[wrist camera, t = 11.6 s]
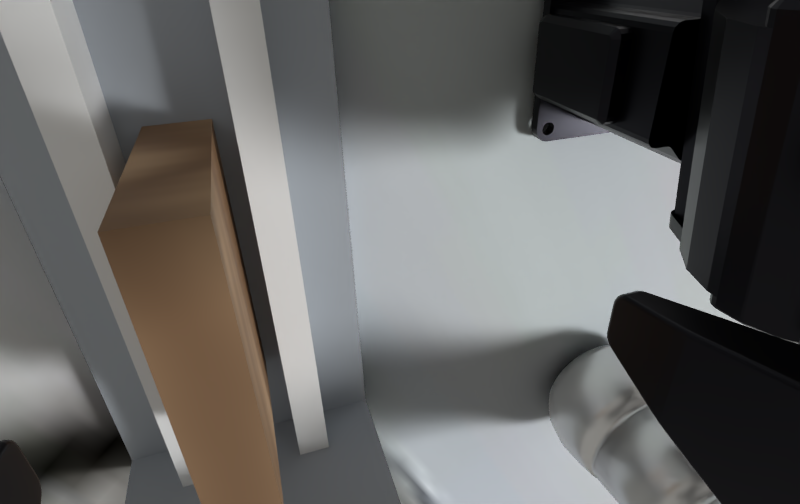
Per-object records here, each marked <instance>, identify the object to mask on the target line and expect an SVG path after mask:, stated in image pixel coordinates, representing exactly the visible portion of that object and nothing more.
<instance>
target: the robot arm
mask: <svg viewBox="0 0 800 504" xmlns="http://www.w3.org/2000/svg"><path fill="white" fill-rule="evenodd" d="M533 92H534V93H535V99H534V109H533V119H532V133H533V135H534V136H535V137H537V138H538V139H540V140H542V141H552V140H559V139H566V138H573V137H580V136H587V135H594V134H601V133H608V132H612V133H614V134H616V135H618V136H621V137H623V138H625V139H627V140H629V141H632V142H634V143H636V144H638V145H641V146H643V147H645V148H647V149H649V150H652V151H654V152H656V153H658V154H661V155H663V156H665V157H667V158H670V159H672V160H674V161H676V162H678V163H681V168H680V175H679V183H678V190H677V198H676V205H675V210H673V211H672V212H671V216H670V224H669V227H670V229H671V230H672V232H673V233H674V234H675V236H676V237H677V238H678V240H679V241H680V252H681V255H682V258H683V260H684V263H685V266H686V269H687V270H688V271H689V272H690V273H691V274H692V275H693V276H694V278H695V279H696V280H697V281H698V282H699V283H700V284H701V285H702V286H703V287H704V288H705V289H706V290H707V291H708V292H710V293H711V296H710V303H711V304H712V305H713V306H714V307H715V308H716V309H718V310H719V311H721V312H723V313H724V314H726V315H728V316H730V317H731V318H733V319H735V320H737V321H738V322H740V323H742V324H744V325H746V326H748V327H746V326H744V325H741V324H738V323H735V322H732V321H729V320H726V319H723V318H720V317H717V316H714V315H711V314H708V313H705V312H702V311H699V310H697V309H694V308H691V307H688V306H685V305H682V304H679V303H676V302H673V301H670V300H667V299H664V298H661V297H658V296H655V295H652V294H650V293H647V292H643V291H635V292H631V293H627V294H622V295H620V296H618V297H617V298H616V300H615V302H614V305H613V309H612V314H611V318H610V322H609V327H608V331H607V338H608V342H609V345H610V347H611V349H612V350H613V352H614V353H615V355H616V357H617V358H618V360H619V361H620V363H621V365H622V366H623V368H624V369H625V371H626V372H627V374H628V376H629V377H630V379H631V380H632V382H633V384H634V385H635V387H636V388H637V390H638V391H639V393H640V395H641V396H642V398H643V399H644V401H645V403H646V404H647V406H648V407H649V409H650V410H651V412H652V413H653V415H654V416H655V418H656V419H657V421H658V422H659V424H660V425H661V426H662V428H663V429H664V431H665V432H666V433H667V435H668V436H669V437H670V438H671V440H672V441H673V442H674V444H675V445H676V446H677V448H678V449H679V450H680V451H681V453H682V454H683V455H684V457H685V458H686V459H687V461H688V462H689V463H690V464H691V466H692V467H693V468H694V470H695V471H696V472H697V473H698V475H699V476H700V477H701V479H702V480H703V481H704V483H705V484H706V485H707V486H708V488H709V489H710V490H711V492H712V493H713V494H714V496H715V497H716V498H717V499H718V501H719V502H720V503H721V504H800V0H545V2H544V12H543V19H542V20H541V22H540V25H539V35H538V45H537V55H536V65H535V75H534V85H533ZM546 123H548V128H547V130H546V131H544V132H543V131H542V129H543V126H544V125H545V124H546ZM749 327H751V328H749ZM752 328H753V329H752ZM755 329H756V330H755ZM793 342H794V343H793ZM796 343H798V344H796ZM0 504H41V484H40V481H39V479H38V476H37V475H36V473H35V472H34V470H33V468H32V467H31V465H30V464H29V462H28V460H27V459H26V457H25V456H24V454H23V452H22V451H21V449H20V448H19V446H18V445H17V444H16V443H15V442H14V441H11V440H2V441H0Z"/></svg>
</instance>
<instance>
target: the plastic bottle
mask: <svg viewBox="0 0 800 504" xmlns="http://www.w3.org/2000/svg"><path fill="white" fill-rule="evenodd" d="M549 417H550V421H551V423H552V425H553V427H554V429H555V431H556V433H557V435H558V437H559V439H560V441H561V443H562V444H563V446H564V447H565V448H566V449H567V450H568V451H569V453H570V454H571V455H572V456H573V457H574V458H575V459H576V460H577V461H578V462H579V463H580V464H581V465H582V466H583V467H584V468H585V469H586V470H587V471H588V472H590V473H591V474H592V475H593V476H595V477H596V478H598V480H599V481H600V482H601V484H602V485H603V486H604V487H605V488H606V489H607V490H608V492H609V493H610V494H611V495H612V496H613V497H614V498H615V500H616V501H617V502H618V503H619V504H721V503H720V502H719V501H718V499H717V498H716V497H715V496H714V494H713V493H712V492H711V490H710V489H709V488H708V486H707V485H706V484H705V483H704V481H703V480H702V479H701V477H700V476H699V475H698V473H697V472H696V471H695V470H694V468H693V467H692V466H691V464H690V463H689V462H688V461H687V459H686V458H685V457H684V455H683V454H682V453H681V451H680V450H679V449H678V448H677V446H676V445H675V444H674V442H673V441H672V440H671V438H670V437H669V436H668V435H667V433H666V432H665V431H664V429H663V428H662V426H661V425H660V424H659V422H658V421H657V419H656V418H655V416H654V415H653V413H652V412H651V410H650V409H649V407H648V406H647V404H646V403H645V401H644V399H643V398H642V396H641V395H640V393H639V391H638V390H637V388H636V387H635V385H634V384H633V382H632V380H631V379H630V377H629V376H628V374H627V372H626V371H625V369H624V368H623V366H622V365H621V363H620V361H619V360H618V358H617V357H616V355H615V353H614V352H613V350H612V349H611V347H610V345H605V346H600V347H596V348H594V349H591V350H589V351H587V352H585V353H583V354H581V355H580V356H578V357H577V358H575V359H574V360H573V361H572V362H570V363H569V364H568V365H567V366H566V367H565V368H564V369H563V370H562V371H561V373H560V374H559V375H558V377H557V378H556V380H555V381H554V383H553V386H552V388H551V391H550V394H549Z"/></svg>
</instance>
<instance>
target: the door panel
mask: <svg viewBox="0 0 800 504" xmlns="http://www.w3.org/2000/svg"><path fill="white" fill-rule="evenodd" d="M97 233H98V235H99V238H100V240H101V243H102V246H103V248H104V251H105V254H106V256H107V259H108V261H109V264H110V267H111V269H112V272H113V275H114V277H115V280H116V282H117V285H118V288H119V290H120V293H121V295H122V298H123V301H124V303H125V306H126V309H127V311H128V314H129V316H130V319H131V322H132V324H133V327H134V330H135V332H136V335H137V337H138V340H139V343H140V345H141V348H142V350H143V353H144V356H145V358H146V361H147V364H148V366H149V369H150V371H151V374H152V377H153V379H154V382H155V385H156V387H157V390H158V392H159V395H160V398H161V400H162V403H163V405H164V408H165V411H166V413H167V416H168V419H169V421H170V424H171V426H172V429H173V432H174V434H175V437H176V439H177V442H178V445H179V447H180V450H181V453H182V455H183V458H184V460H185V463H186V466H187V468H188V471H189V474H190V476H191V479H192V481H193V484H194V487H195V489H196V492H197V494H198V497H199V500H200V502H201V504H284V502H283V494H282V486H281V478H280V470H279V462H278V454H277V446H276V438H275V430H274V422H273V414H272V407H271V399H270V391H269V383H268V375H267V367H266V360H265V356H264V351H263V347H262V342H261V338H260V333H259V329H258V324H257V320H256V315H255V311H254V306H253V302H252V297H251V293H250V288H249V284H248V279H247V275H246V270H245V266H244V261H243V257H242V252H241V248H240V243H239V239H238V234H237V230H236V225H235V221H234V216H233V212H232V207H231V203H230V198H229V194H228V189H227V185H226V180H225V176H224V171H223V167H222V162H221V157H220V153H219V148H218V144H217V139H216V135H215V130H214V126H213V121H212V119H206V120H197V121H188V122H179V123H170V124H161V125H152V126H143V127H141V130H140V132H139V135H138V137H137V139H136V142H135V144H134V146H133V149H132V151H131V154H130V156H129V158H128V161H127V163H126V165H125V168H124V170H123V173H122V175H121V177H120V180H119V182H118V184H117V187H116V189H115V192H114V194H113V196H112V199H111V201H110V203H109V206H108V208H107V211H106V213H105V215H104V218H103V220H102V222H101V225H100V227H99V230H98V232H97Z"/></svg>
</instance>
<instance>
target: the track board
mask: <svg viewBox="0 0 800 504" xmlns="http://www.w3.org/2000/svg"><path fill="white" fill-rule="evenodd" d="M206 119H212V121H213V126H214V130H215V135H216V139H217V144H218V148H219V153H220V157H221V162H222V167H223V171H224V176H225V180H226V185H227V189H228V194H229V198H230V203H231V207H232V212H233V216H234V221H235V225H236V230H237V234H238V239H239V243H240V248H241V252H242V257H243V261H244V266H245V270H246V275H247V279H248V284H249V288H250V293H251V297H252V302H253V306H254V311H255V315H256V320H257V324H258V329H259V333H260V338H261V342H262V347H263V351H264V356H265V360H266V367H267V375H268V383H269V391H270V399H271V407H272V414H273V422H274V430H275V438H276V446H277V454H278V462H279V470H280V478H281V486H282V494H283V502H284V504H401V503H400V500H399V497H398V494H397V491H396V488H395V485H394V482H393V479H392V476H391V473H390V470H389V467H388V464H387V461H386V459H385V456H384V453H383V450H382V447H381V444H380V441H379V438H378V435H377V432H376V429H375V426H374V423H373V420H372V417H371V414H370V411H369V408H368V405H367V402H366V398H365V387H364V376H363V365H362V355H361V344H360V333H359V322H358V312H357V301H356V290H355V279H354V268H353V258H352V247H351V236H350V225H349V215H348V204H347V193H346V182H345V171H344V161H343V150H342V139H341V128H340V118H339V107H338V96H337V85H336V74H335V64H334V53H333V42H332V31H331V21H330V10H329V0H0V177H1V179H2V181H3V183H4V185H5V187H6V190H7V192H8V194H9V196H10V198H11V200H12V203H13V205H14V207H15V209H16V211H17V213H18V216H19V218H20V220H21V222H22V224H23V226H24V228H25V231H26V233H27V235H28V237H29V239H30V241H31V244H32V246H33V248H34V250H35V252H36V254H37V256H38V259H39V261H40V263H41V265H42V267H43V269H44V272H45V274H46V276H47V278H48V280H49V282H50V285H51V287H52V289H53V291H54V293H55V295H56V297H57V300H58V302H59V304H60V306H61V308H62V310H63V313H64V315H65V317H66V319H67V321H68V323H69V325H70V328H71V330H72V332H73V334H74V336H75V338H76V341H77V343H78V345H79V347H80V349H81V351H82V353H83V356H84V358H85V360H86V362H87V364H88V366H89V369H90V371H91V373H92V375H93V377H94V379H95V382H96V384H97V386H98V388H99V390H100V392H101V394H102V397H103V399H104V401H105V403H106V405H107V407H108V410H109V412H110V414H111V416H112V418H113V420H114V422H115V425H116V427H117V429H118V431H119V433H120V435H121V438H122V440H123V442H124V444H125V446H126V448H127V451H128V453H129V455H130V457H131V459H132V464H131V470H130V476H129V482H128V488H127V495H126V501H125V504H201V502H200V500H199V497H198V494H197V492H196V489H195V487H194V484H193V481H192V479H191V476H190V474H189V471H188V468H187V466H186V463H185V460H184V458H183V455H182V453H181V450H180V447H179V445H178V442H177V439H176V437H175V434H174V432H173V429H172V426H171V424H170V421H169V419H168V416H167V413H166V411H165V408H164V405H163V403H162V400H161V398H160V395H159V392H158V390H157V387H156V385H155V382H154V379H153V377H152V374H151V371H150V369H149V366H148V364H147V361H146V358H145V356H144V353H143V350H142V348H141V345H140V343H139V340H138V337H137V335H136V332H135V330H134V327H133V324H132V322H131V319H130V316H129V314H128V311H127V309H126V306H125V303H124V301H123V298H122V295H121V293H120V290H119V288H118V285H117V282H116V280H115V277H114V275H113V272H112V269H111V267H110V264H109V261H108V259H107V256H106V254H105V251H104V248H103V246H102V243H101V240H100V238H99V235H98V233H97V232H98V230H99V227H100V225H101V222H102V220H103V218H104V215H105V213H106V211H107V208H108V206H109V203H110V201H111V199H112V196H113V194H114V192H115V189H116V187H117V184H118V182H119V180H120V177H121V175H122V173H123V170H124V168H125V165H126V163H127V161H128V158H129V156H130V154H131V151H132V149H133V146H134V144H135V142H136V139H137V137H138V135H139V132H140V130H141V127H143V126H152V125H161V124H170V123H179V122H188V121H197V120H206Z"/></svg>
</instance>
